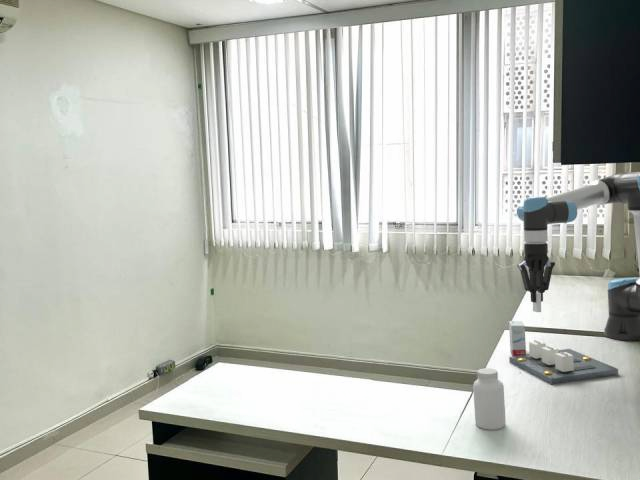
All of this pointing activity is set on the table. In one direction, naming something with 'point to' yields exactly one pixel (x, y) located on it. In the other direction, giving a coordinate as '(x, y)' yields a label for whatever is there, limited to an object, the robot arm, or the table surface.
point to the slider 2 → (549, 354)
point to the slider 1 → (536, 348)
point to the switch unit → (582, 371)
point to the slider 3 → (564, 361)
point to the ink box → (517, 338)
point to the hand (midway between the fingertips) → (537, 311)
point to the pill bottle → (489, 400)
